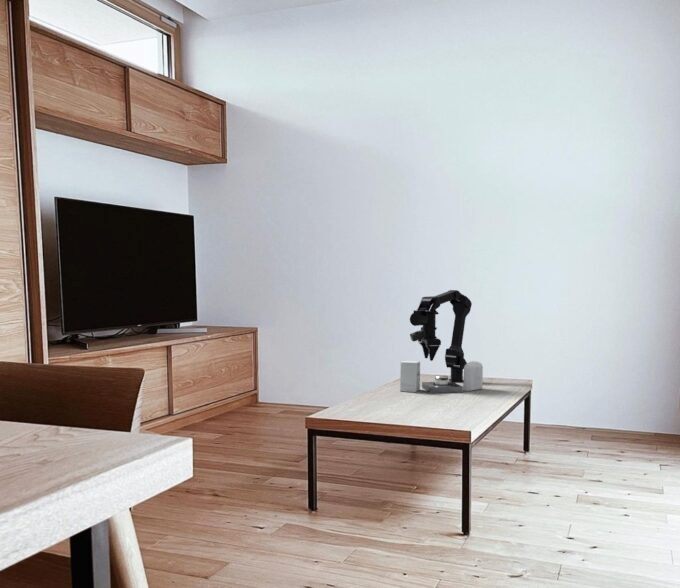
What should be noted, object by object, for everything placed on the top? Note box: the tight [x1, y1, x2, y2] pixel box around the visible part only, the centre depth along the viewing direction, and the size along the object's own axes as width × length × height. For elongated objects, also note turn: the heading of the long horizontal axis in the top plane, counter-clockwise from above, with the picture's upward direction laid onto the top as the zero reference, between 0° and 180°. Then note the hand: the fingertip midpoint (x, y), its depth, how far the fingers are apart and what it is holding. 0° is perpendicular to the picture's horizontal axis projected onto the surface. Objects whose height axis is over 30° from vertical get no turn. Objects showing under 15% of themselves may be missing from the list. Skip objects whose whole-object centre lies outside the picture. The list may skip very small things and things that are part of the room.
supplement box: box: [399, 360, 421, 393], centre depth 294 cm, size 7×7×13 cm
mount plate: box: [421, 381, 463, 394], centre depth 296 cm, size 14×14×2 cm
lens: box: [434, 374, 449, 386], centre depth 296 cm, size 6×6×6 cm
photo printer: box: [462, 360, 484, 392], centre depth 297 cm, size 10×4×12 cm, turn 134°
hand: (428, 359), depth 306 cm, fingers open, 9 cm apart
